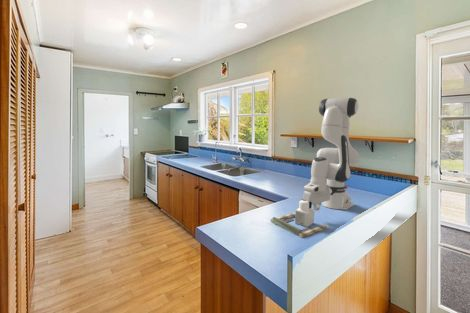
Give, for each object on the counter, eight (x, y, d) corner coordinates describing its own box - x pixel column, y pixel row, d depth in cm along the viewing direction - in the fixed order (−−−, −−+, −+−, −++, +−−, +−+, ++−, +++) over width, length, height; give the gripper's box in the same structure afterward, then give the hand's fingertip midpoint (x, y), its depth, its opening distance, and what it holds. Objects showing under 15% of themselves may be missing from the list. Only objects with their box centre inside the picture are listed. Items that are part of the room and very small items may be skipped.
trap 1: (290, 218, 140) (290, 218, 140) (294, 220, 138) (294, 219, 138) (277, 222, 135) (277, 221, 135) (281, 224, 132) (281, 223, 132)
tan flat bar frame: (295, 214, 146) (295, 210, 146) (327, 228, 128) (327, 222, 128) (270, 221, 135) (270, 216, 135) (301, 237, 117) (301, 231, 117)
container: (300, 219, 140) (301, 197, 138) (313, 222, 135) (315, 200, 133) (294, 223, 134) (295, 200, 132) (308, 227, 129) (309, 203, 127)
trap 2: (309, 227, 129) (310, 226, 129) (314, 229, 126) (314, 228, 126) (297, 231, 123) (297, 231, 123) (301, 234, 121) (301, 233, 121)
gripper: (324, 183, 146) (322, 205, 147) (301, 187, 134) (300, 211, 135) (334, 185, 140) (332, 208, 142) (311, 189, 129) (309, 214, 130)
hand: (316, 210), depth 139 cm, fingers closed
